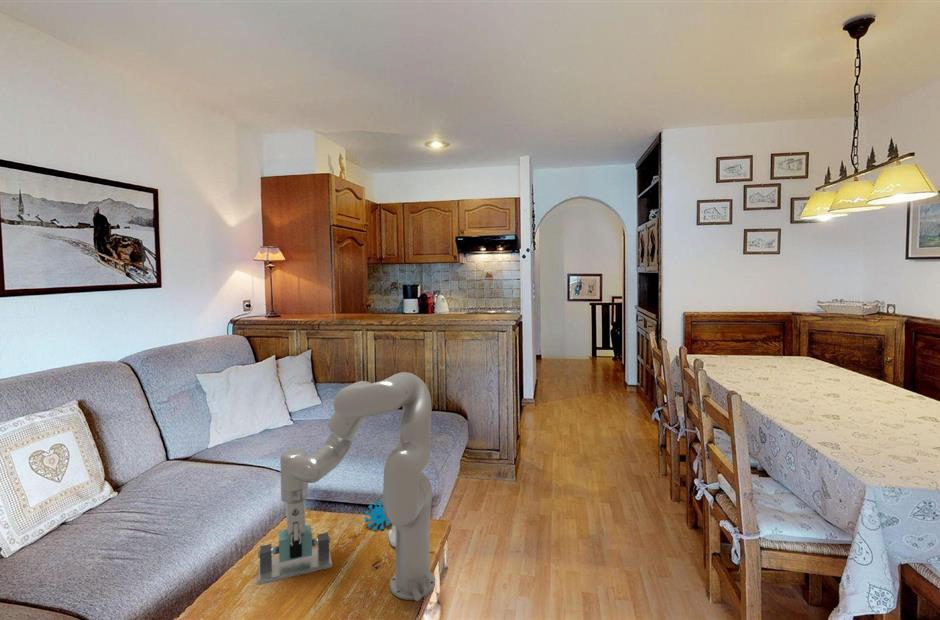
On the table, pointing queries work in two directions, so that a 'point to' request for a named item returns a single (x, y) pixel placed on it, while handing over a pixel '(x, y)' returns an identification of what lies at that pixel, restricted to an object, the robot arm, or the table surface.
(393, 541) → the seated beast figurine
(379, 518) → the blue lumpy piece
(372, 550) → the table surface
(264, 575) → the shaft rig
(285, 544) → the teal block
